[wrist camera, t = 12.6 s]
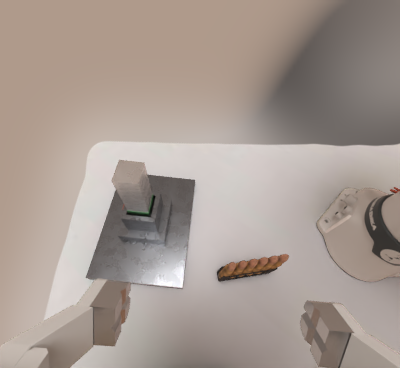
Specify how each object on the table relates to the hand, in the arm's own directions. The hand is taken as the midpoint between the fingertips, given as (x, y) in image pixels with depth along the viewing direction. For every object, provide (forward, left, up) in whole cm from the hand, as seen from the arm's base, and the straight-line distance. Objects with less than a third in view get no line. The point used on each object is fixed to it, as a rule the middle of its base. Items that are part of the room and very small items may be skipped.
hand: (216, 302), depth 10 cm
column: (-7, -18, -28) cm, 34 cm away
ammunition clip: (-11, +4, -35) cm, 37 cm away
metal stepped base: (-7, -18, -34) cm, 39 cm away
